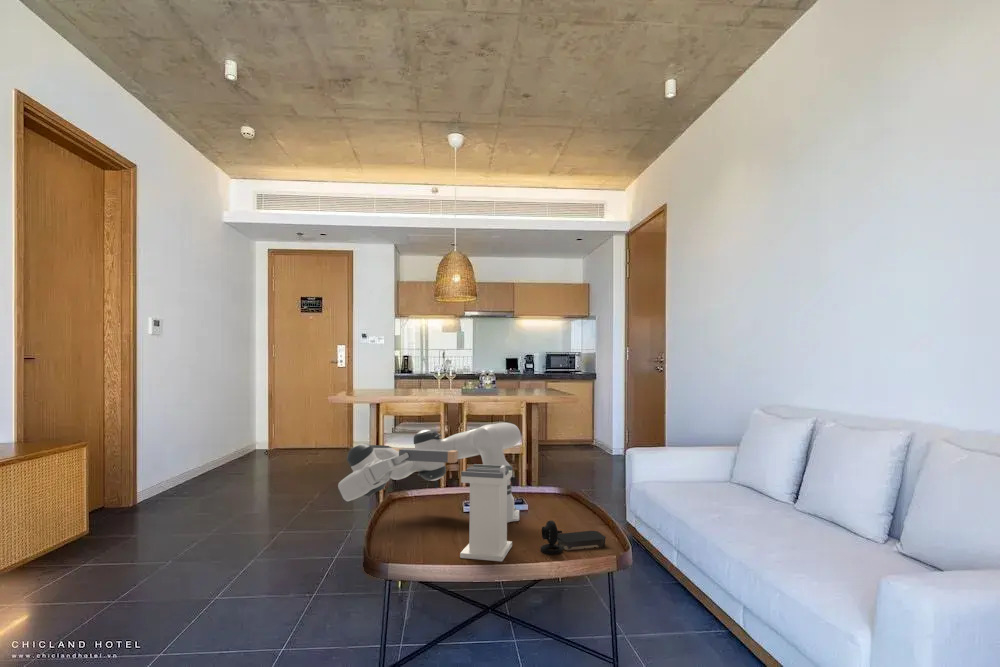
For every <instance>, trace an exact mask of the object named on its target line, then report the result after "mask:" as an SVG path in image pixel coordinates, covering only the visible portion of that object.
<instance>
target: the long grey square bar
mask: <svg viewBox="0 0 1000 667" xmlns="http://www.w3.org/2000/svg"><path fill="white" fill-rule="evenodd" d="M398 451H399V456H401V455H403V454H404V453H407V452H408V453H409V455H410V457H409V458H407V459H405V460H404V461H424V462H444V464H445V463H447V464H449V463H451V464H455V463H457V462H459V459H458V450H434V449H415V448H411V447H410V448H409V447H407V448H406V447H403V448H400V449H398Z"/></svg>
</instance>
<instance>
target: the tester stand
mask: <svg viewBox="0 0 1000 667" xmlns="http://www.w3.org/2000/svg"><path fill="white" fill-rule="evenodd" d="M460 475H461V476H460V481H461V482H460V483H462V484H465V483H466V484H469V531H468V532H469V534H468V535H469V536H468V537H469V539H468V540H469V543H468V544H466V546H465V547H464V548H463V550H461V552H460V554H459V557H460V559H468V560H469V559H471V560H481V561H492V562H503V561H504V559H505V558H506V556H507V555H508V553H509V551H510V550H511V548H512V547H513V541H510V540H508V522H507V480H508V479H509V478H510V479H511V478H512V476H513V465H510V466H505V465H484V464H483V463H482V464H479V463H478V464H477V463H473V466H468V467H467V468H466V471H465V470H462V471H461V474H460Z"/></svg>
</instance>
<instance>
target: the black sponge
mask: <svg viewBox="0 0 1000 667" xmlns="http://www.w3.org/2000/svg"><path fill="white" fill-rule="evenodd" d="M606 538H607V537H606V536H605V535H603V534H602V533H601V532H599V531H598V530H584V531H583V530H582V531H576V532H575V531H574V532H565V533H563V532H562V533H558V538H557V542H556V543H557V545H559V546H561V547H562V548H563V550H565V551H572V550H575V551H576V550H585V549H593V548H594V547H596V548H599V547H600V548H604V547H605V545H606ZM603 546H604V547H603ZM584 548H585V549H584ZM594 549H595V548H594Z"/></svg>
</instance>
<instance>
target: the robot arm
mask: <svg viewBox="0 0 1000 667" xmlns="http://www.w3.org/2000/svg"><path fill="white" fill-rule="evenodd" d="M441 437H442V434H441V433H440V434H439V433H438V432H437V431H435V430H434V429H422V430H420V431H418V432H417V433H416V434H414V435H413V445H414V449H434V450H458V460H462V459H466V458H472V457H476V456H480V457H481V461H482V464H484V465H505V466H511V464H510V463H509V462H508V460H506V458H505V453H504V450H507V449H510V448H513V447H514V446H516V445H517V444H518V443H519V442H520V439H521V431H520V429H519V427H518V426H517V425H516V424H514V423H511V422H506V421H505V422H497V423H490V424H484V425H482V426H480V427H478V428H473V429H470V430H465V431H461V432H458V433H455V434H452V435H449V436H448V437H445V438H441ZM346 455H347V457H346V461H347V463H348V465H349V467H350V468H351V470H352V472H351V473H349V474H347V476H345V477H344V478H343V479H341V480H340V481H339V482H338V484H337V487H338V488H337V489H338V492H339V494H340V496H341V498H342V499H343V500H344V501H345V502H350V501H351V502H352V501H354V500H357V499H359V498H361V497H364V496H365V497H372V496H373V495H375V493H377V492H380V491H382V490H383V489H384V488H385V487H386V485H387V483H388V482H389V481H390V480H391V479H392V480H394V481H395V480H396V481H398V480H402V479H405V478H407V477H409V476H410V475H412V474H413V473H416V472H418V473H417V476H418V477H421V478H422V479H424V480H426V481H430V482H431V481H433V482H434V481H437V480H440V479H441V478H442V477H444V476H445V475H446V472H447V466H446V465H445V463H444V462H424V461H404V460H405V459H407V458H409V457H410V455H409V453H408V452H407V453H404V454H403V455H401V456H399V450H396V449H394V448H392V447H391V446H389V445H385V444H384V445H381V444H380V445H379V444H378V445H376V444H369V443H359V444H357V445H355V446H353V447H352V448H351V449H349V450H348V453H347V454H346ZM512 489H513V488H512V482H511V478H509V479H508V480H507V523H510V522H511V523H512V522H518V521H520V509H519V510H516V509H517V507H515V498H514V496H513V494H512Z"/></svg>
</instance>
